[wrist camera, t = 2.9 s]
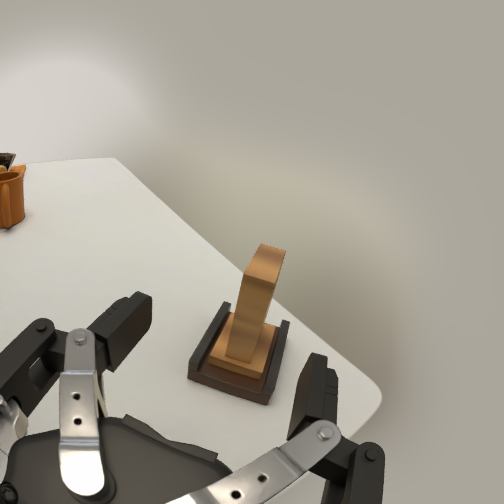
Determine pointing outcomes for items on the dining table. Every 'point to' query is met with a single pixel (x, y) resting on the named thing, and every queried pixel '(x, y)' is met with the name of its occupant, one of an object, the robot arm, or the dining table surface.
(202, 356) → the brown u-shaped block
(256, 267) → the wooden pedestal block
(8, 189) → the mug
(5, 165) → the food tray
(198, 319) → the dining table surface
